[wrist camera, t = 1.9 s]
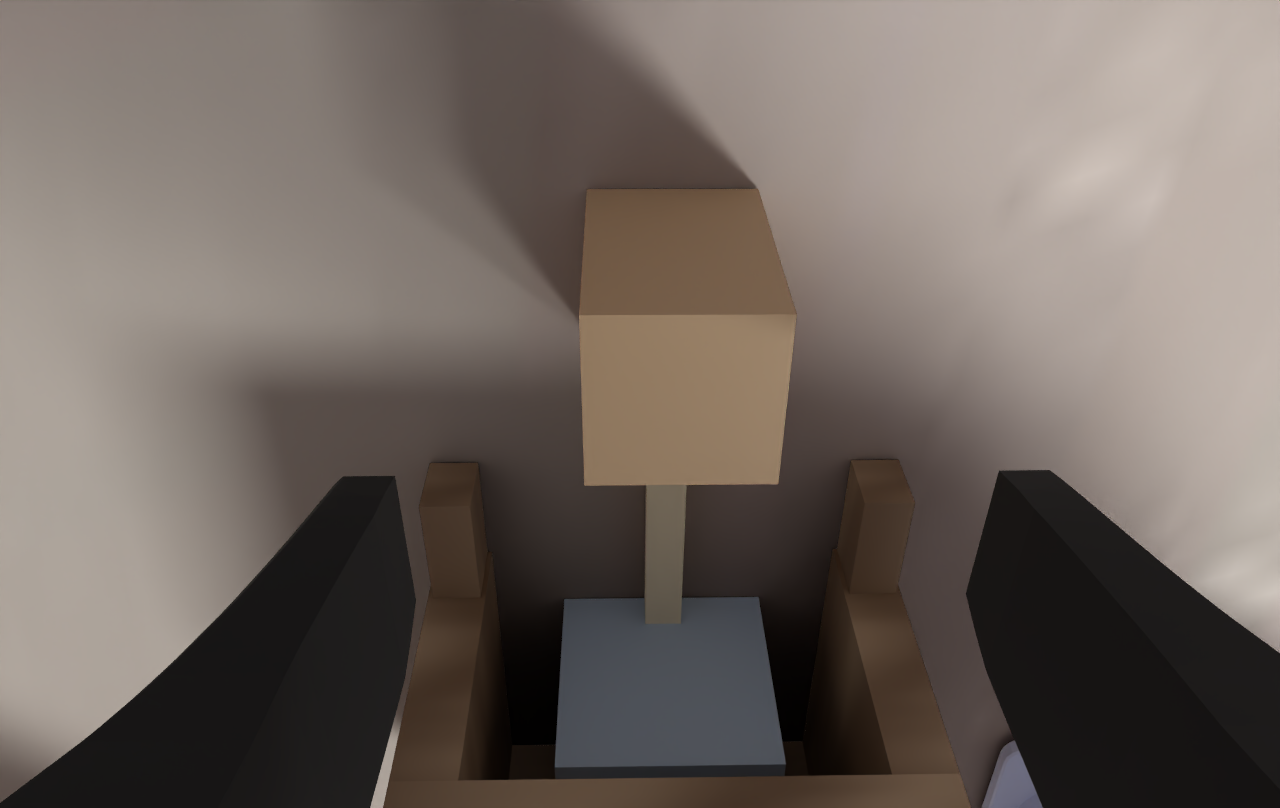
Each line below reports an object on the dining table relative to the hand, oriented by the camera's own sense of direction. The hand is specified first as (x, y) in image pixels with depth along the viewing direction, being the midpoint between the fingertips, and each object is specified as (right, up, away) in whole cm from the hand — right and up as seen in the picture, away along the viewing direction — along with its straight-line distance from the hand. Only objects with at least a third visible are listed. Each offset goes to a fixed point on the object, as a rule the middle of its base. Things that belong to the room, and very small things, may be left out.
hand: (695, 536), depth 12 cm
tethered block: (0, -1, +9) cm, 9 cm away
